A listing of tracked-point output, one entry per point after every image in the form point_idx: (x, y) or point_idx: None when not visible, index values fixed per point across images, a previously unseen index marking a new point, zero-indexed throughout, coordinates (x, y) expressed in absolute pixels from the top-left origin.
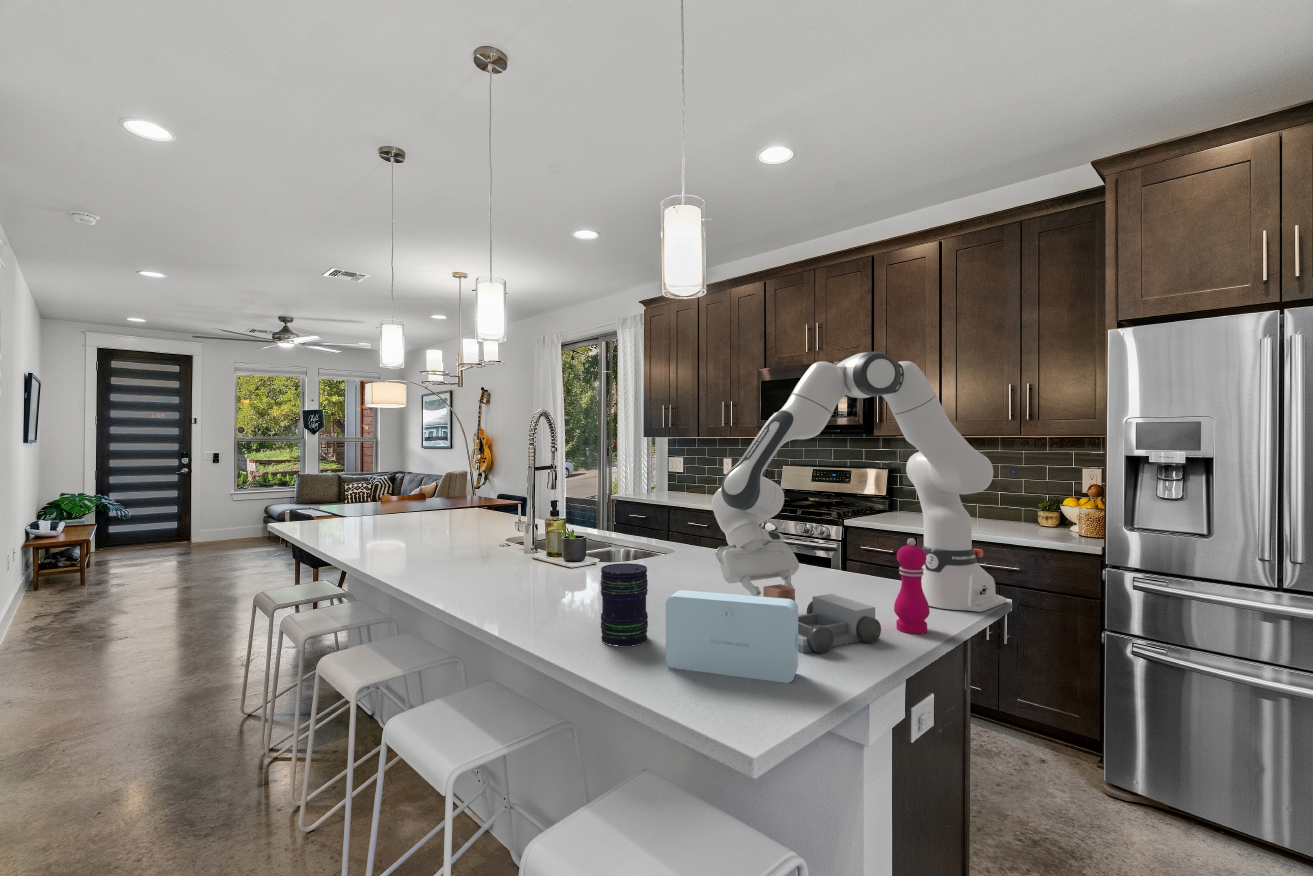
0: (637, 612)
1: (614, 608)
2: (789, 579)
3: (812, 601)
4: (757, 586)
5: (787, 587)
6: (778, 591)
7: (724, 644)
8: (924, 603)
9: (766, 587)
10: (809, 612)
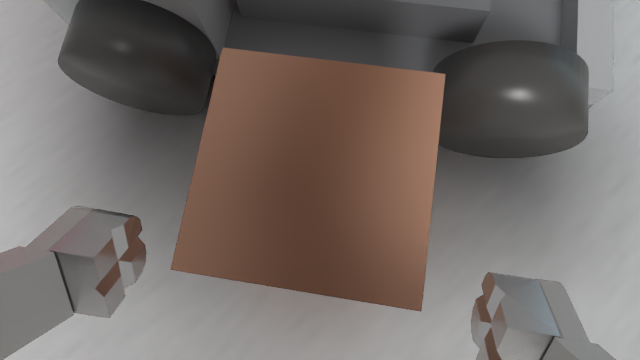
0: None
1: None
2: (2, 265)
3: (130, 51)
4: (518, 325)
5: (239, 120)
6: (428, 75)
7: None
8: None
9: (421, 258)
10: (205, 68)
